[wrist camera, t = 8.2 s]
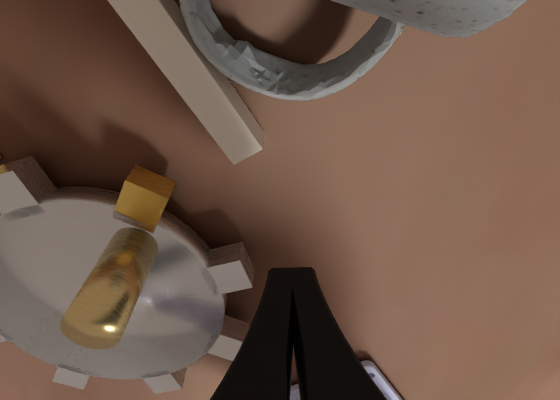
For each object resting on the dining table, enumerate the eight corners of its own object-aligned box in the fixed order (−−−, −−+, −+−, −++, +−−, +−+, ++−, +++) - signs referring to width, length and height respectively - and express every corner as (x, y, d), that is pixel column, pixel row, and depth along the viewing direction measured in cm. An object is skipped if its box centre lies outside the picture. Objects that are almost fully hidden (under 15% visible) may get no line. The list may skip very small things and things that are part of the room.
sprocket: (308, 319, 19) (317, 428, 14) (111, 398, 23) (71, 503, 18) (107, 84, 12) (12, 150, 8) (-118, 250, 16) (-266, 356, 12)
